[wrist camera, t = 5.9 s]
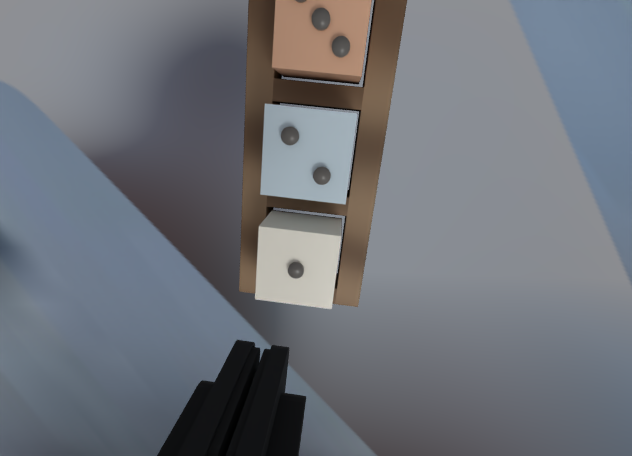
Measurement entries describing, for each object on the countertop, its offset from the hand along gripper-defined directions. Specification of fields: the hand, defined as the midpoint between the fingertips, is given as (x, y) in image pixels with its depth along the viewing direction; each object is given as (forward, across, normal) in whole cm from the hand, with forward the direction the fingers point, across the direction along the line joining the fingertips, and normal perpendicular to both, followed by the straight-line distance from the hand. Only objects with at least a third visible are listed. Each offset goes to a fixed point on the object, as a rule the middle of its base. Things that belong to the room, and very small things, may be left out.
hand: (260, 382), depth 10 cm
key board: (+14, 0, -7) cm, 16 cm away
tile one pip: (+12, 0, 0) cm, 12 cm away
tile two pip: (+12, 0, -7) cm, 14 cm away
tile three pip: (+13, 0, -13) cm, 19 cm away
